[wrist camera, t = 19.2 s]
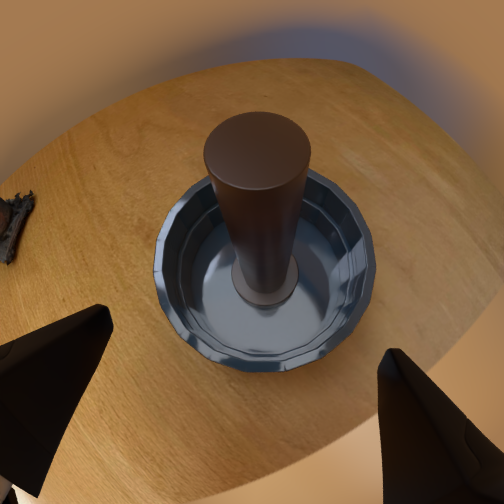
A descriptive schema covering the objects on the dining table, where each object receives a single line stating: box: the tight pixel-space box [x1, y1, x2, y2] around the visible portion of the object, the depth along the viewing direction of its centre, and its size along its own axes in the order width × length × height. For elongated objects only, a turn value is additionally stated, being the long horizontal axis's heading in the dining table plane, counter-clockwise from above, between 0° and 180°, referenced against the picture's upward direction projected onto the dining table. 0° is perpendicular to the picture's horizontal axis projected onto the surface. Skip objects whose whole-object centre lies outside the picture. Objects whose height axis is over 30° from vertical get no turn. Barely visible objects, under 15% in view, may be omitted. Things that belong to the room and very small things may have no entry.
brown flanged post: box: [203, 112, 311, 308], centre depth 13 cm, size 4×4×13 cm
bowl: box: [153, 168, 376, 373], centre depth 17 cm, size 12×12×6 cm
